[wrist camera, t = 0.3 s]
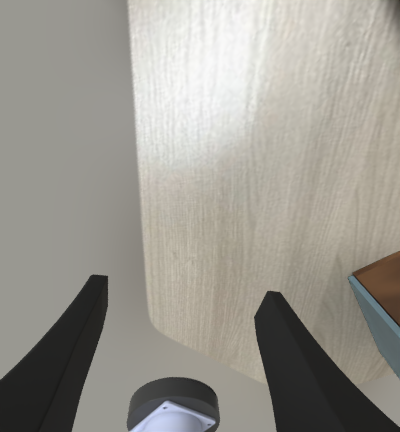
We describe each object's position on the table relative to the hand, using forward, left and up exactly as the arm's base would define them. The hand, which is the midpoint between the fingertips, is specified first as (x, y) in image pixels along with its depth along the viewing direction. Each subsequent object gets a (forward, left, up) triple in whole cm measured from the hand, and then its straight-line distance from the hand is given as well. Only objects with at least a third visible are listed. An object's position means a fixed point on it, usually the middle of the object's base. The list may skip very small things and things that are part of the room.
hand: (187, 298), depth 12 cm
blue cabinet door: (+1, -26, -12) cm, 28 cm away
